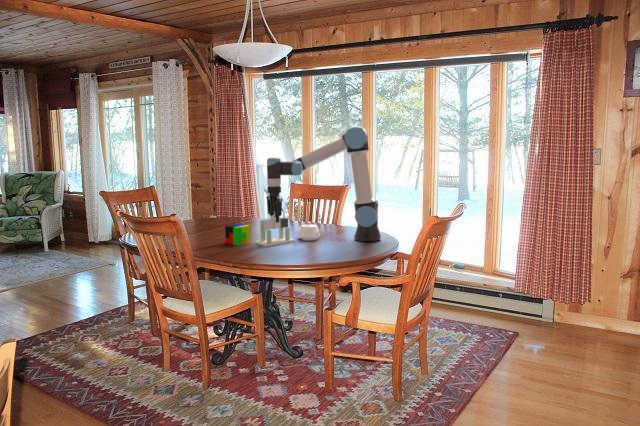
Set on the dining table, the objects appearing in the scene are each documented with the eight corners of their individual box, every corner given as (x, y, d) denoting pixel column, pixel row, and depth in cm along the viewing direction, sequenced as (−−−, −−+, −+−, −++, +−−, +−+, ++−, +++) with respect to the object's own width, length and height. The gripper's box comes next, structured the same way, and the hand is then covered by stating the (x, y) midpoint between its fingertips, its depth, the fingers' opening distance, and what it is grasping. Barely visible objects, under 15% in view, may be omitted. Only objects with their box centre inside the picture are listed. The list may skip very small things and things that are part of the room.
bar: (288, 227, 296) (288, 218, 295) (263, 230, 286) (263, 221, 286) (284, 226, 299) (284, 217, 298) (260, 229, 289) (260, 220, 289)
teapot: (329, 239, 300) (329, 222, 299) (314, 243, 292) (314, 225, 290) (305, 235, 314) (305, 218, 313) (290, 238, 306) (290, 221, 304)
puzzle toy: (239, 240, 301) (238, 223, 299) (251, 242, 294) (250, 225, 293) (225, 243, 293) (225, 226, 291) (237, 245, 287) (237, 228, 285)
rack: (295, 241, 296) (294, 227, 294) (264, 246, 284) (264, 231, 283) (285, 238, 304) (285, 224, 302) (255, 243, 292) (255, 229, 291)
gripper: (287, 186, 284) (288, 228, 288) (272, 184, 298) (272, 224, 301) (276, 187, 280) (276, 230, 284) (260, 184, 293) (261, 225, 297)
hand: (274, 227), depth 293 cm, fingers closed on bar, 3 cm apart
